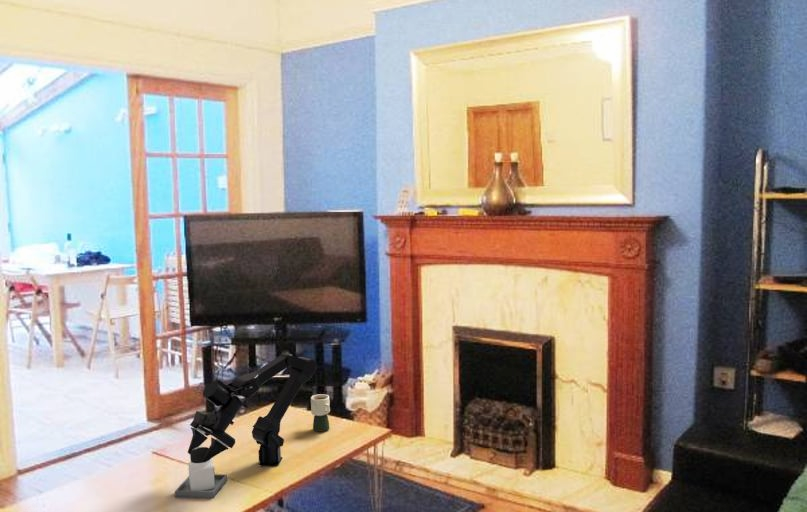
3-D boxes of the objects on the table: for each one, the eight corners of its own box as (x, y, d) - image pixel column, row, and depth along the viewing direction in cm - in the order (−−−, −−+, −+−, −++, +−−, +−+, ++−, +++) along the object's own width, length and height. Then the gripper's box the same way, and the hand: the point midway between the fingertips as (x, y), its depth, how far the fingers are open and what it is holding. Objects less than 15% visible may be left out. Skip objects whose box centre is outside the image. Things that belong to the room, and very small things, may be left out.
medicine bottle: (215, 488, 202) (213, 451, 201) (191, 493, 200) (188, 455, 198) (213, 479, 209) (210, 443, 208) (189, 483, 206) (187, 446, 205)
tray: (227, 480, 210) (227, 474, 209) (213, 498, 198) (213, 492, 198) (191, 480, 211) (190, 474, 210) (175, 497, 199) (174, 491, 199)
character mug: (337, 431, 250) (336, 397, 248) (322, 436, 245) (320, 402, 244) (320, 424, 258) (319, 391, 256) (305, 428, 253) (304, 396, 252)
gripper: (194, 394, 211) (163, 437, 204) (224, 407, 198) (192, 453, 191) (217, 411, 217) (188, 454, 210) (248, 425, 204) (218, 470, 197)
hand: (195, 457), depth 202 cm, fingers open, 9 cm apart
